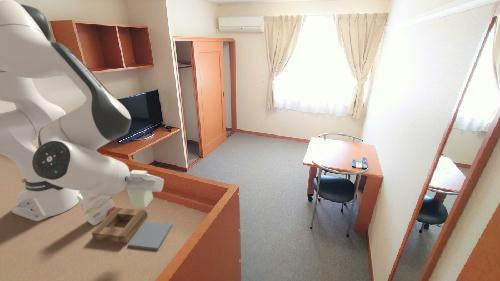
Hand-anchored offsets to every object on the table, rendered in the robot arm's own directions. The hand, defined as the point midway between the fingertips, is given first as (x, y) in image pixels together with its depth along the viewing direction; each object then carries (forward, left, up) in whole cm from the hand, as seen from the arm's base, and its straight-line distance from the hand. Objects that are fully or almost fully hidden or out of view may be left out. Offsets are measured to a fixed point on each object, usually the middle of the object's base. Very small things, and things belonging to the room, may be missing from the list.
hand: (140, 186), depth 69 cm
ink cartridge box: (-23, +5, -20) cm, 31 cm away
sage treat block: (0, -1, -5) cm, 5 cm away
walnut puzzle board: (-12, +1, -19) cm, 23 cm away
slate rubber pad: (0, -1, -19) cm, 20 cm away
